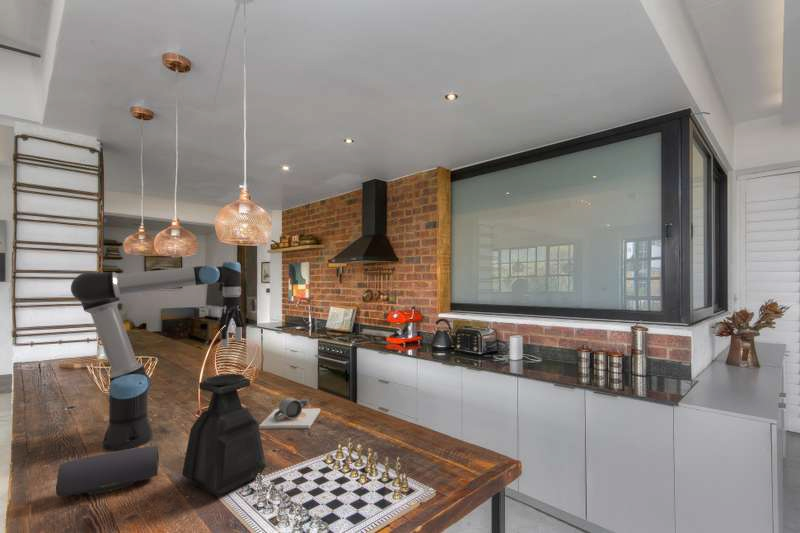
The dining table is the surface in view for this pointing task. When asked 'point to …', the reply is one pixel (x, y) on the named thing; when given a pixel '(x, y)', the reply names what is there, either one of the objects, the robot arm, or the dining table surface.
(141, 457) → the bluetooth speaker
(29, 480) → the dining table surface
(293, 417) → the ceramic mug
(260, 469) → the bottle
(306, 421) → the charging plate
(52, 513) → the dining table surface
